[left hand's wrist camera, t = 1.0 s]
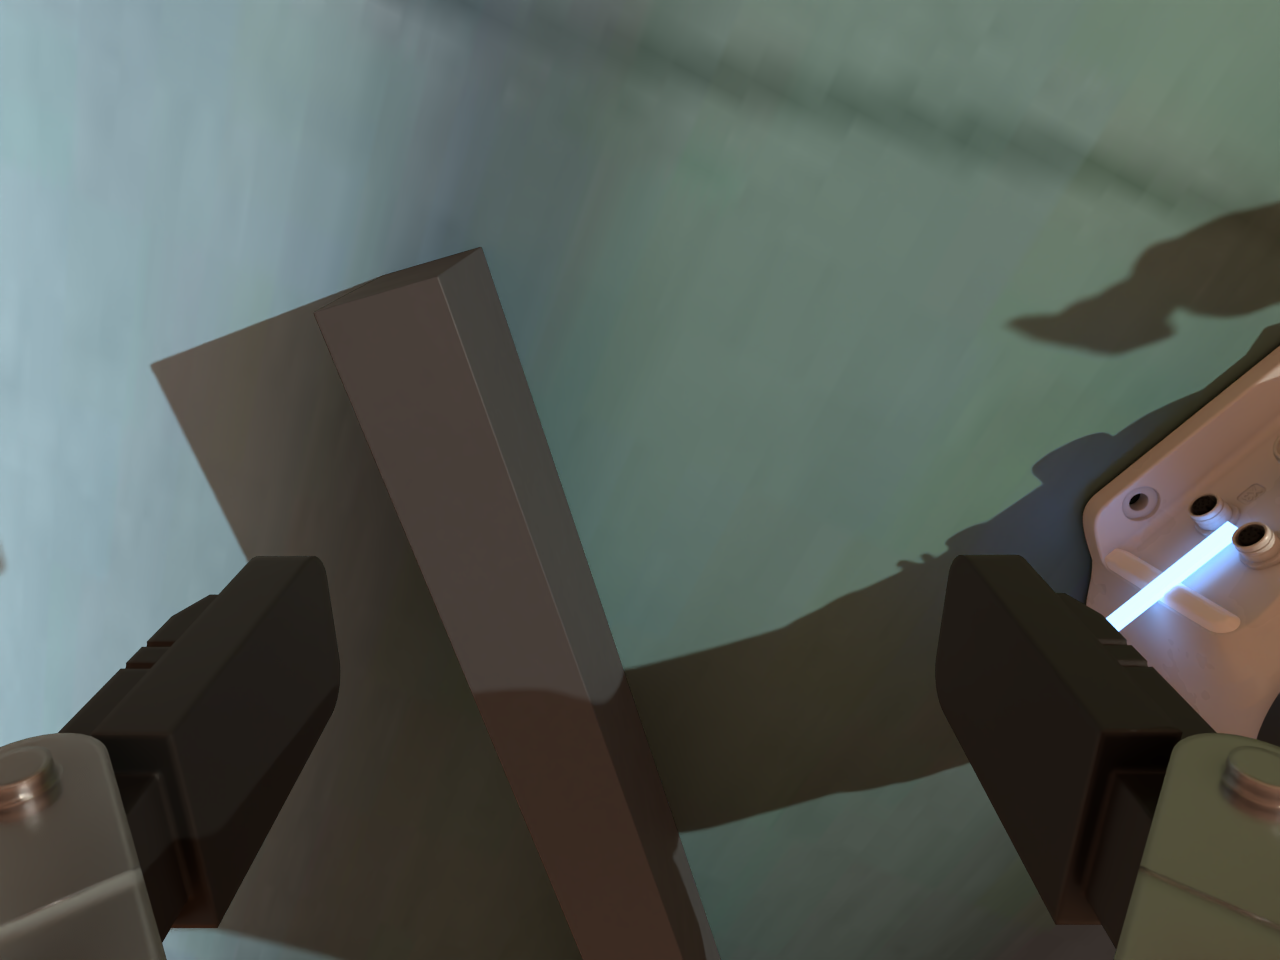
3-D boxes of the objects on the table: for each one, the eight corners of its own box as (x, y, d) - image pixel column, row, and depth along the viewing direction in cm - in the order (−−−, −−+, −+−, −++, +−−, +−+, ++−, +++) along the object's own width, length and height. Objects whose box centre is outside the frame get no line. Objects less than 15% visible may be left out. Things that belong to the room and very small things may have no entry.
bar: (382, 275, 37) (312, 312, 29) (481, 246, 36) (438, 275, 28) (719, 1159, 58) (731, 1316, 51) (784, 1148, 58) (806, 1304, 50)
